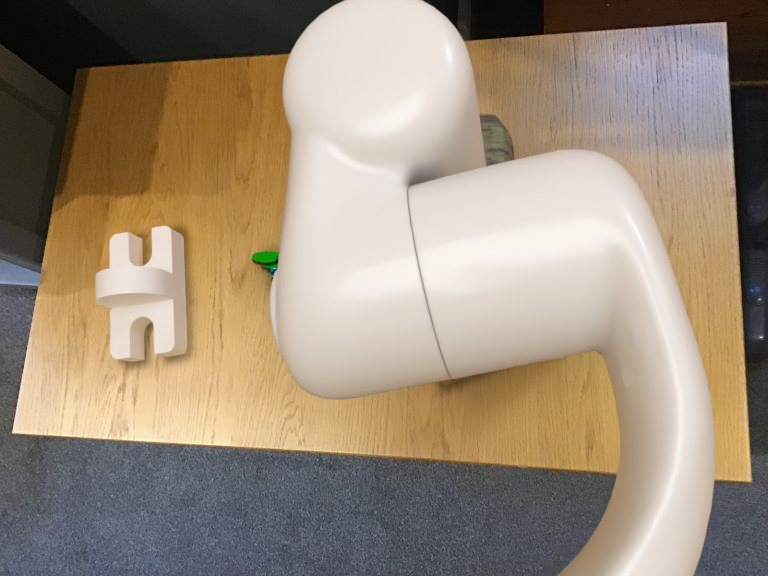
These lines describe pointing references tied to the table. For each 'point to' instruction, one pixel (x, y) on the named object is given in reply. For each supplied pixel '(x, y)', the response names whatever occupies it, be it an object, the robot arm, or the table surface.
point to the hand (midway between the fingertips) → (451, 267)
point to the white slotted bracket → (145, 294)
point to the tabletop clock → (496, 140)
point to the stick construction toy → (267, 261)
